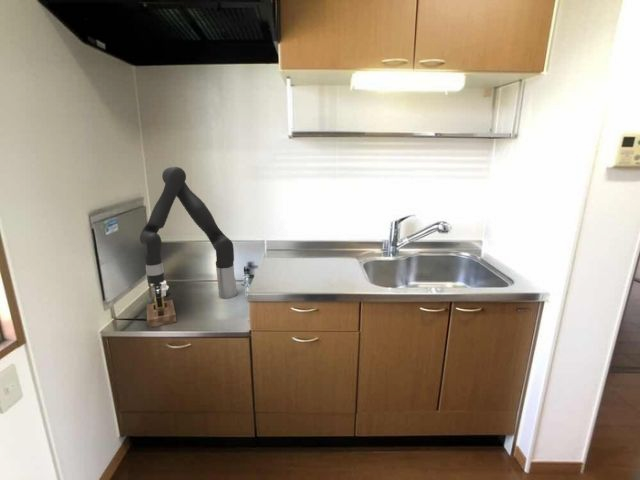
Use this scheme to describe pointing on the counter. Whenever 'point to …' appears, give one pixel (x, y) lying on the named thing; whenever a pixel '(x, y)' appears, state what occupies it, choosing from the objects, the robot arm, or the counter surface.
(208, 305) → the counter surface
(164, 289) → the pipe fitting
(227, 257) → the robot arm
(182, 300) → the counter surface
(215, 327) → the counter surface
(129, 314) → the counter surface
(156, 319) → the socket block
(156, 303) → the square peg
